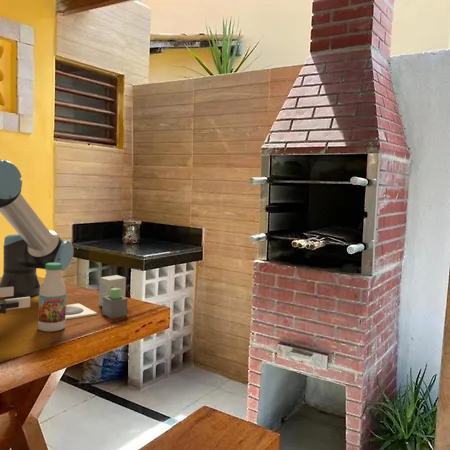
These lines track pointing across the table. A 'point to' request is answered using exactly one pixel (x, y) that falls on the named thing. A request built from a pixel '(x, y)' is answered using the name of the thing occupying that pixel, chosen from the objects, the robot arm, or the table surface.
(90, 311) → the white square plate
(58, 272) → the milk bottle
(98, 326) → the table surface
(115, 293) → the button
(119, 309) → the button box
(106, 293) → the small box
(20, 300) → the robot arm
